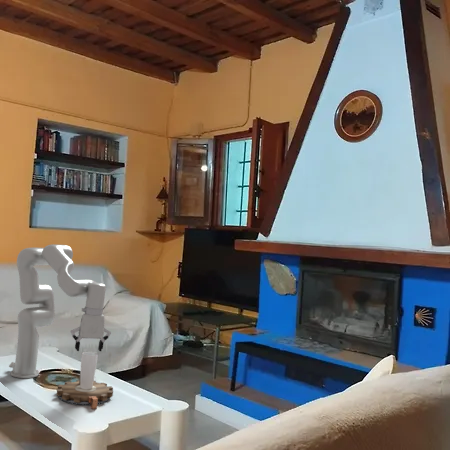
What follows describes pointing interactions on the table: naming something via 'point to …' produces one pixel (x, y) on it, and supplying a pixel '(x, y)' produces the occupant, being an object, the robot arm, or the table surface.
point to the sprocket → (84, 391)
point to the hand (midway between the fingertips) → (88, 350)
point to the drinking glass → (88, 369)
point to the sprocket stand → (86, 402)
